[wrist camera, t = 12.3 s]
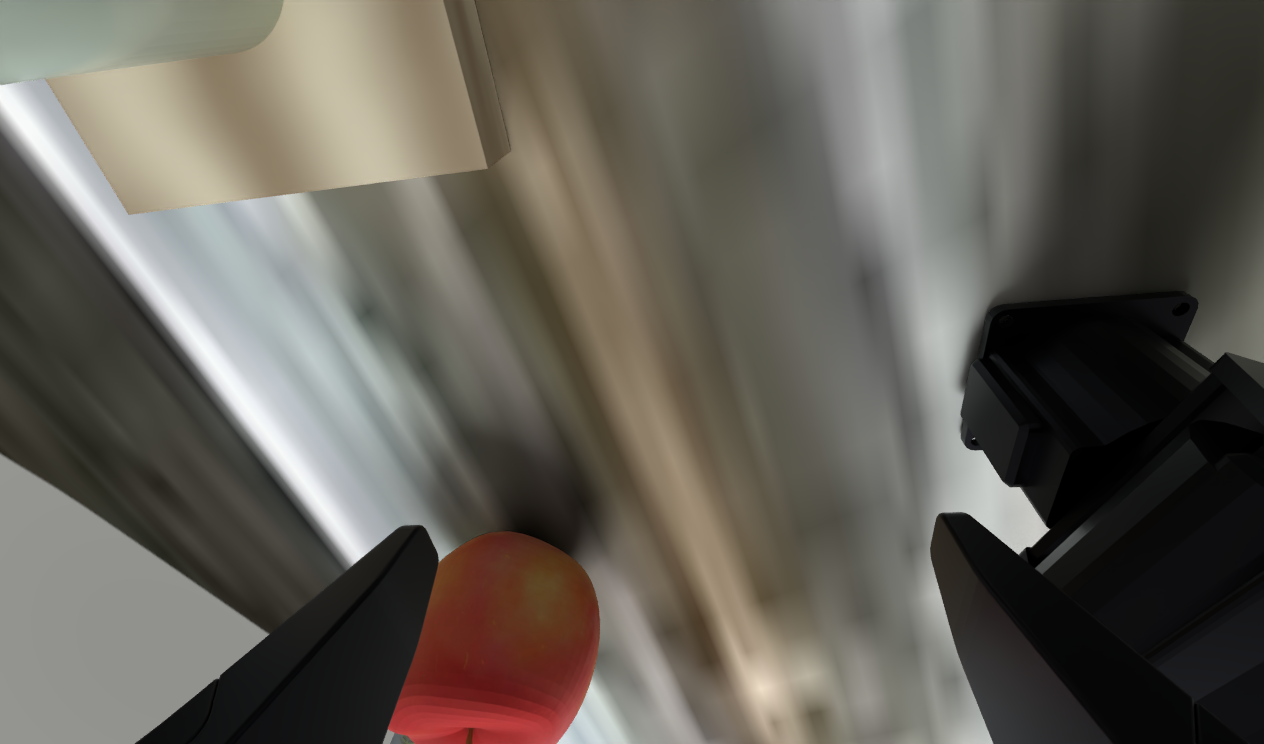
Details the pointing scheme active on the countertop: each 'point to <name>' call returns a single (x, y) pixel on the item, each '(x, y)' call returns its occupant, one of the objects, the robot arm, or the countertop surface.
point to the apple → (501, 646)
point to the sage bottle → (123, 33)
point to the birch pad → (298, 107)
